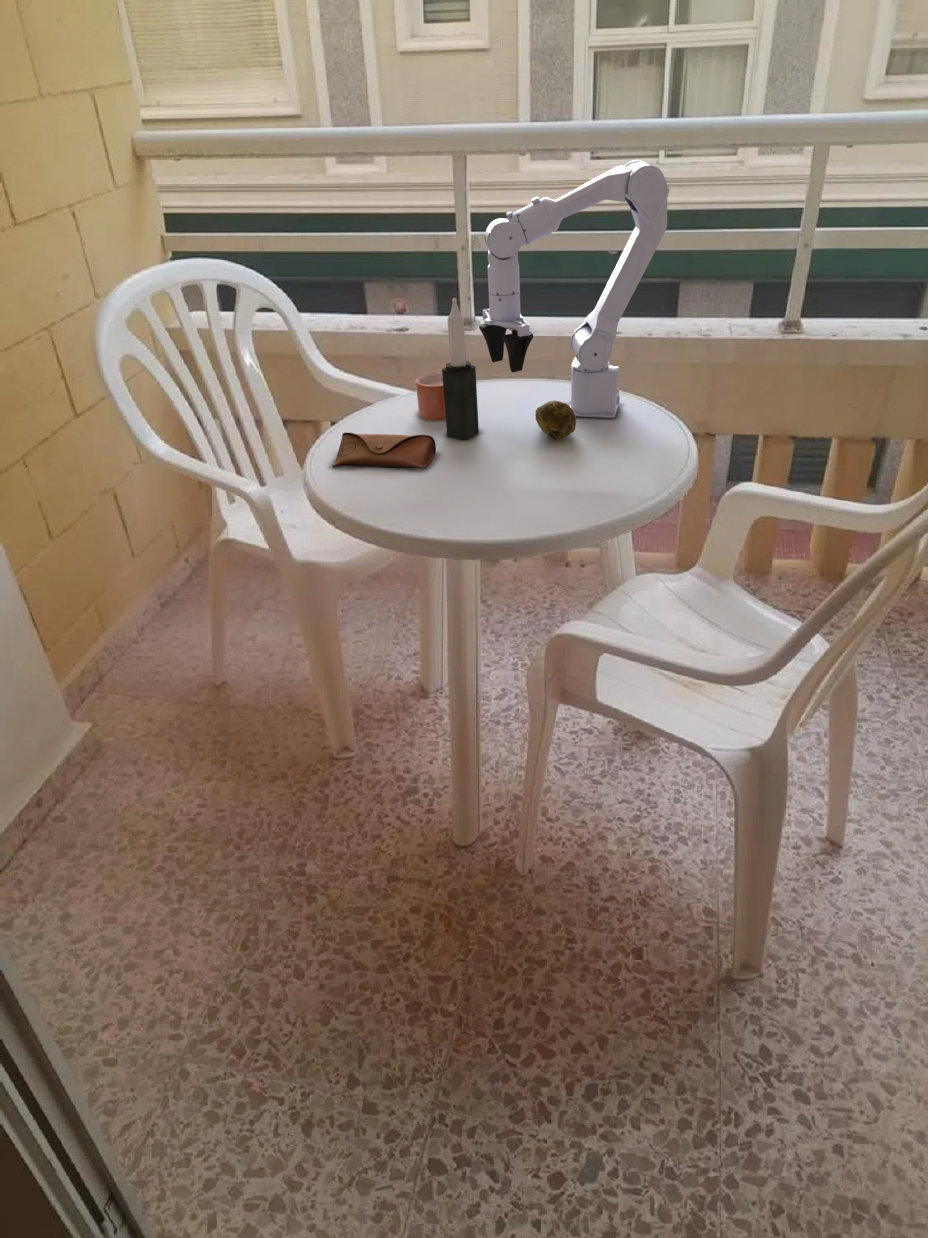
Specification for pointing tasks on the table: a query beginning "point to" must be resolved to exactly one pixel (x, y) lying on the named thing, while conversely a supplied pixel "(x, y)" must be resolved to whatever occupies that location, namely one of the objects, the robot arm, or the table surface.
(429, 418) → the flower pot
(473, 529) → the table surface
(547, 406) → the potato
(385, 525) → the table surface
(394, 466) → the sunglasses case
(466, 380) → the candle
